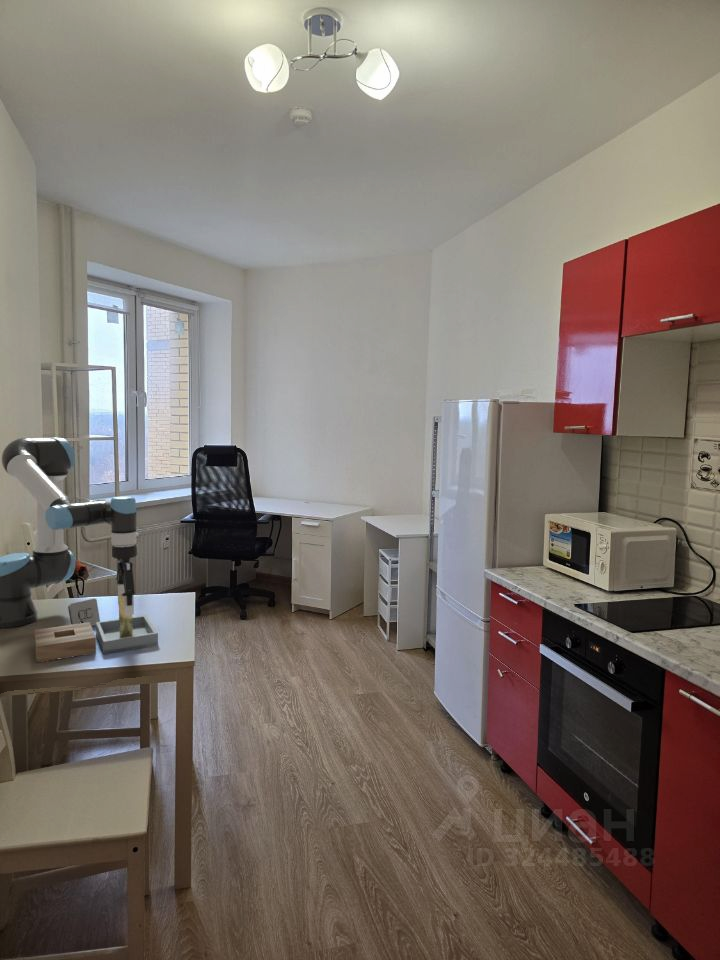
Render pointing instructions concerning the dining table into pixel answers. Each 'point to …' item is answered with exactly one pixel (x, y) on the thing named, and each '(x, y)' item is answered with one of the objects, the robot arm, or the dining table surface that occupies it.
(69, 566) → the robot arm
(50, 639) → the block
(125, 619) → the pin
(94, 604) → the electrical switch
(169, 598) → the dining table surface
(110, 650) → the tray
